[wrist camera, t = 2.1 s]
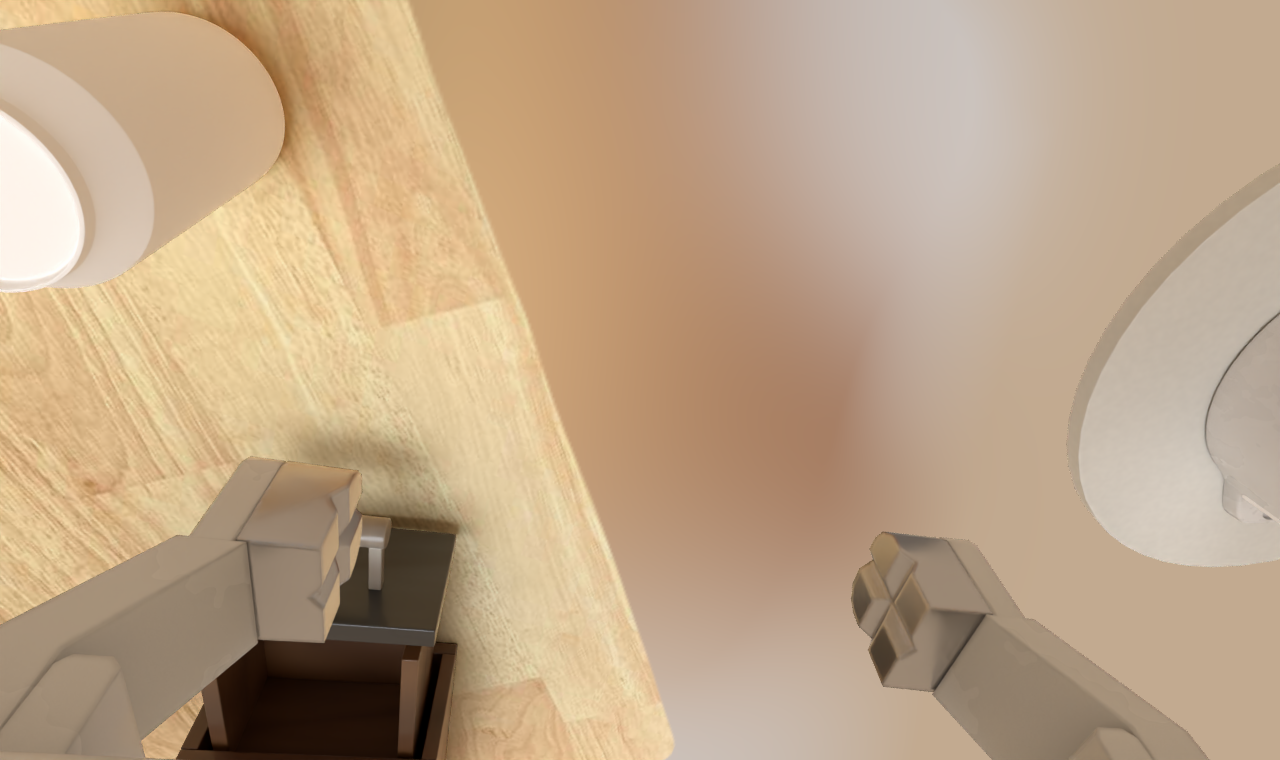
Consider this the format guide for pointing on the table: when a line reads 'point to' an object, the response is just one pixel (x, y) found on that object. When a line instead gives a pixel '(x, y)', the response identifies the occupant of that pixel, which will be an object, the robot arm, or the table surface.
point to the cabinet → (430, 756)
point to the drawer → (346, 661)
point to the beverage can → (122, 140)
